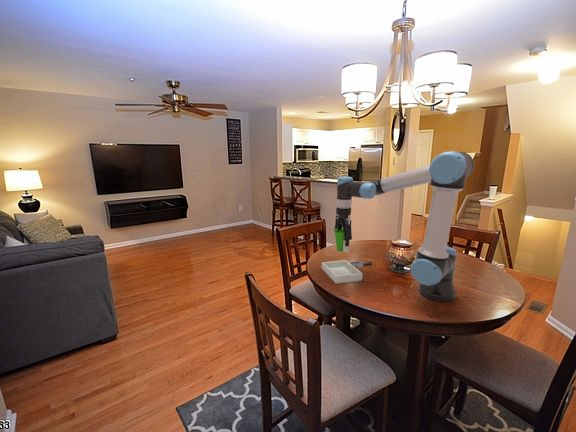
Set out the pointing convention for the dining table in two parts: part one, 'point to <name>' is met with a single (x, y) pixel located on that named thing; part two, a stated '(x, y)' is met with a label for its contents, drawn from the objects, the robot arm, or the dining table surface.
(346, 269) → the bin
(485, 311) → the dining table surface
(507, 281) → the dining table surface
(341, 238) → the cup
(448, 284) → the robot arm
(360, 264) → the scoop
